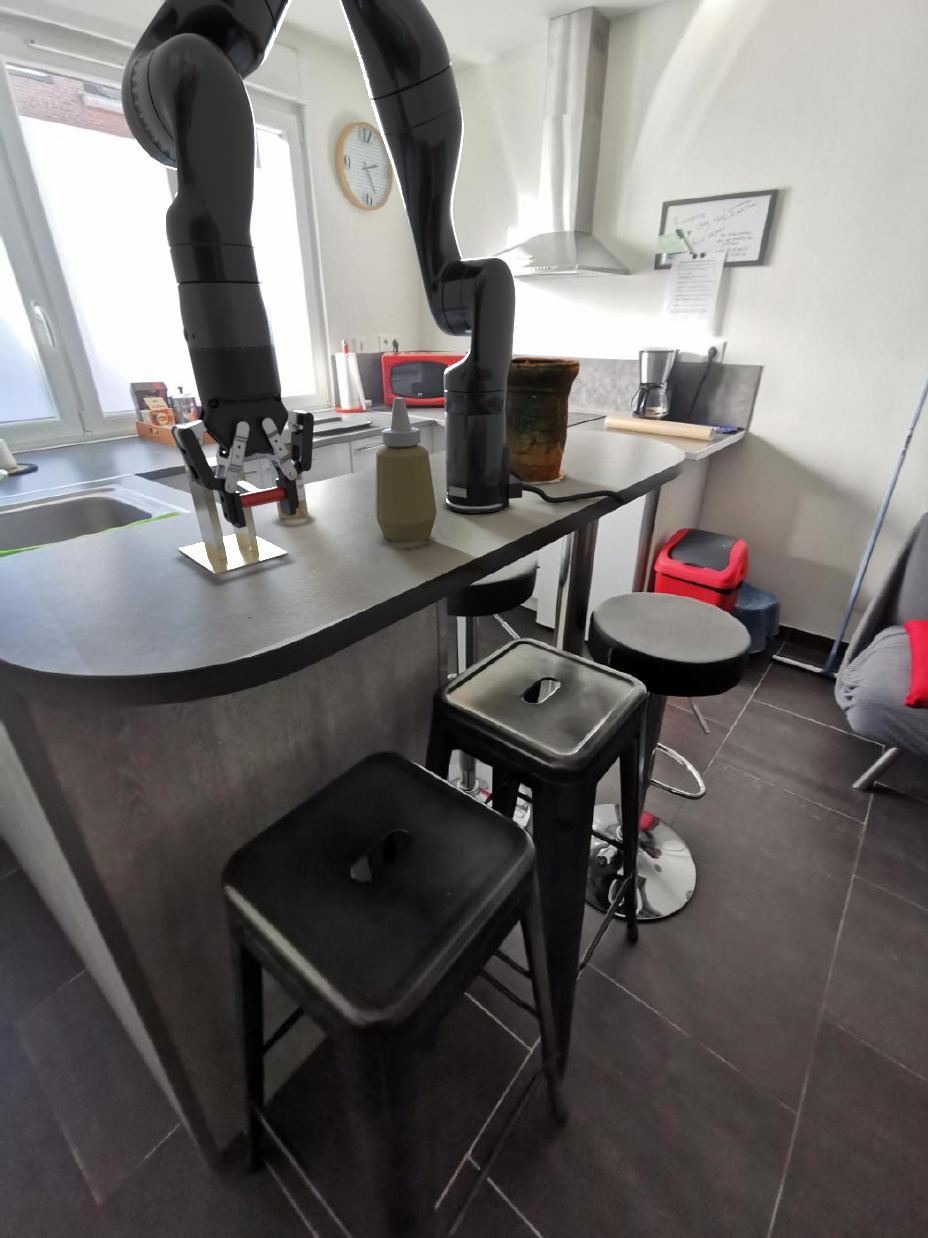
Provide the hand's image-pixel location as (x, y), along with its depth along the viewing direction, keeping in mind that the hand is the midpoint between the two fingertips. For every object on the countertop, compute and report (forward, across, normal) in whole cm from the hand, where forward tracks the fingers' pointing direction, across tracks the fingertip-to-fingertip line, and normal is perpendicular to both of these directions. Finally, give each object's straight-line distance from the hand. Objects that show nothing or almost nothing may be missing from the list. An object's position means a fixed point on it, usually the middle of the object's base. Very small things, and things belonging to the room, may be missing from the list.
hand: (264, 519), depth 60 cm
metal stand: (+8, 0, +11) cm, 13 cm away
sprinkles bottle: (+8, +13, +20) cm, 25 cm away
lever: (-2, 0, +6) cm, 6 cm away
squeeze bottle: (+8, +20, +1) cm, 21 cm away
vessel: (+8, +58, +11) cm, 59 cm away
